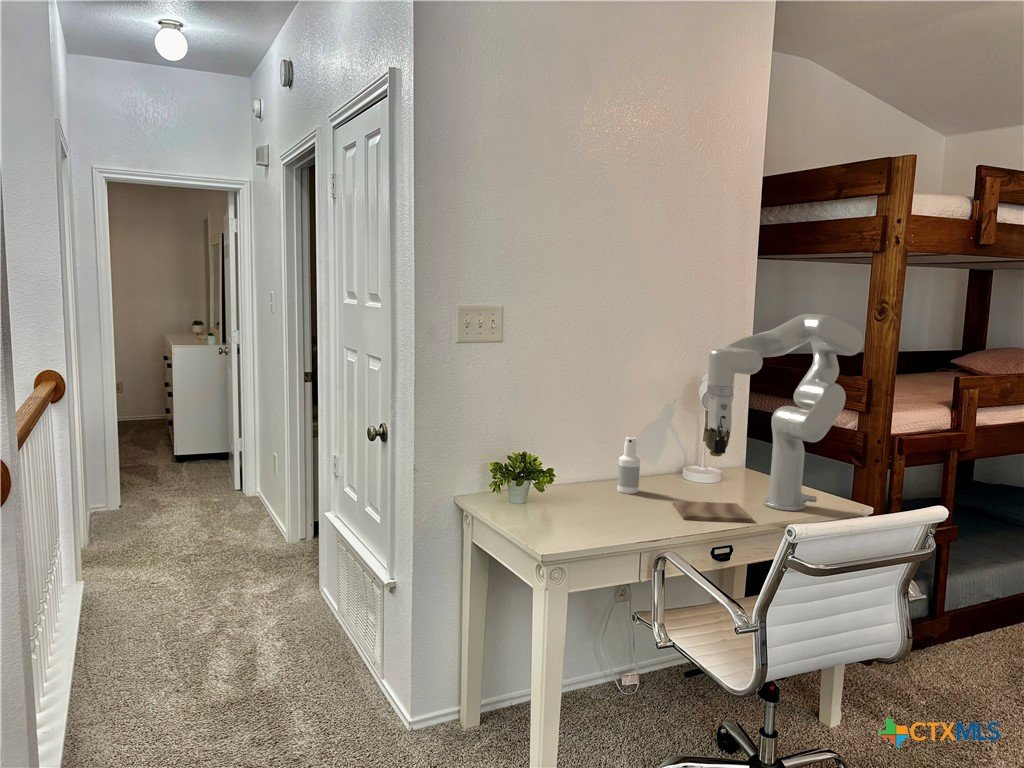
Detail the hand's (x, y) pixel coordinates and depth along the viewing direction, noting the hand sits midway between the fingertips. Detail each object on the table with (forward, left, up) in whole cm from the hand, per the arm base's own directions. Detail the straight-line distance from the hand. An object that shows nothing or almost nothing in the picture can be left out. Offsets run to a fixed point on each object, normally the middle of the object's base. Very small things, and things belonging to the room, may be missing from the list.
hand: (716, 450), depth 226 cm
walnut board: (0, 0, -19) cm, 19 cm away
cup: (0, 0, -2) cm, 2 cm away
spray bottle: (+22, -22, -20) cm, 37 cm away
